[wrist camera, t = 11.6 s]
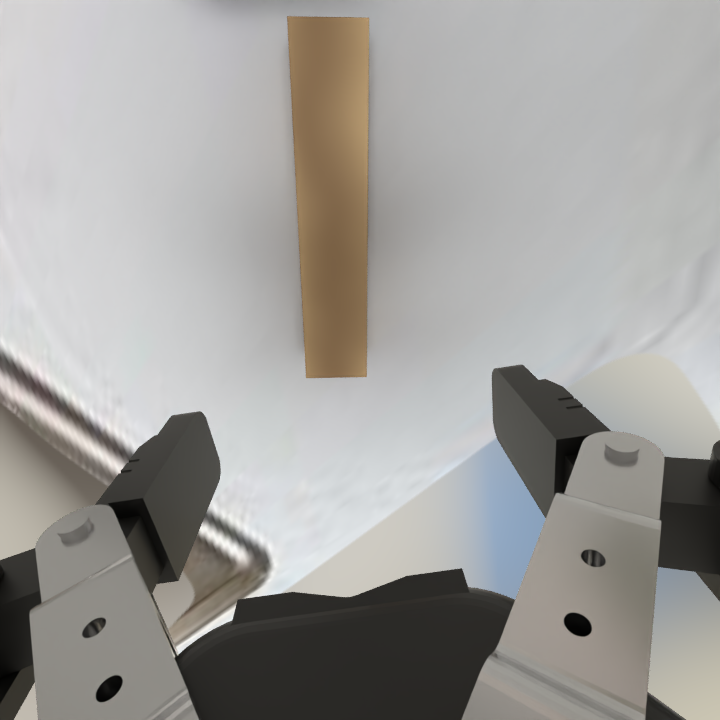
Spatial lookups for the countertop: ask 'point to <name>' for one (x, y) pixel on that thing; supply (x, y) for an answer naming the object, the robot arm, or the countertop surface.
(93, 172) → the countertop surface
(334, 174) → the rod
